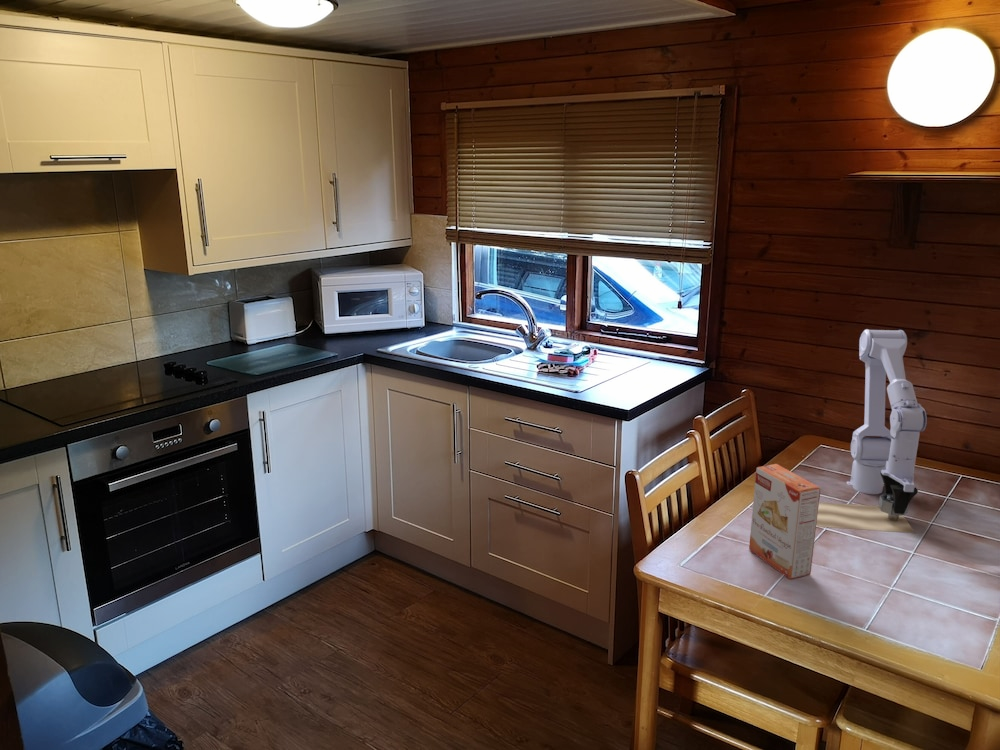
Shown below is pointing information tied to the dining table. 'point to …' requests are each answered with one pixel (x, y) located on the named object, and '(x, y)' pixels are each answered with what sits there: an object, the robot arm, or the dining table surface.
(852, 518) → the board
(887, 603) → the dining table surface
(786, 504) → the cracker box
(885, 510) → the ring hub
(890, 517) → the steel post
